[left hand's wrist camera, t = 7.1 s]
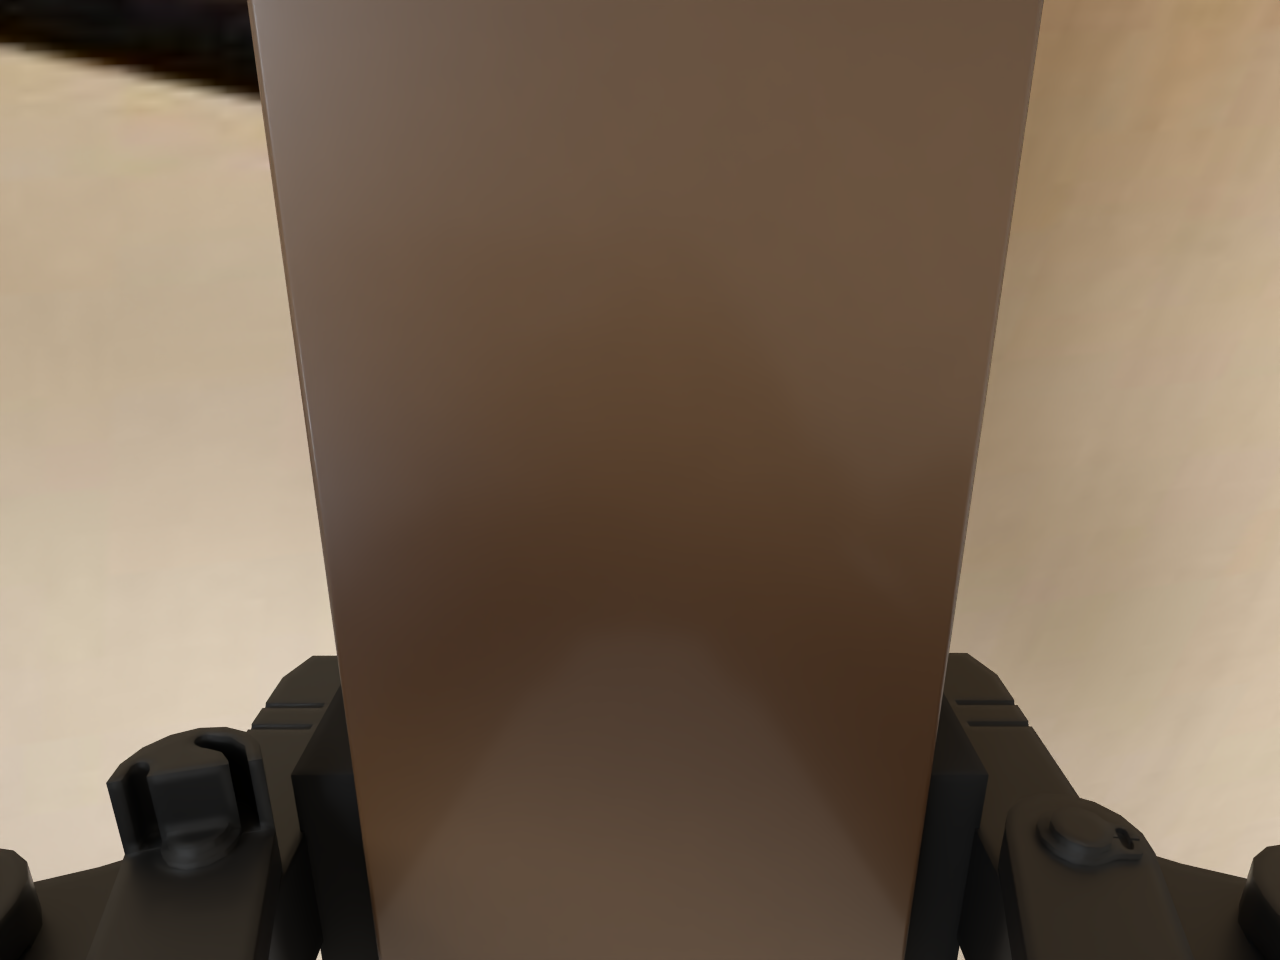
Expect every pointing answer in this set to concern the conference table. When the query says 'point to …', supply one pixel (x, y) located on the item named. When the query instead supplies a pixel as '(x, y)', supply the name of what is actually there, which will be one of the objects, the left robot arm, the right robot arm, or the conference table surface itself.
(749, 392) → the beam
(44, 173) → the conference table surface
